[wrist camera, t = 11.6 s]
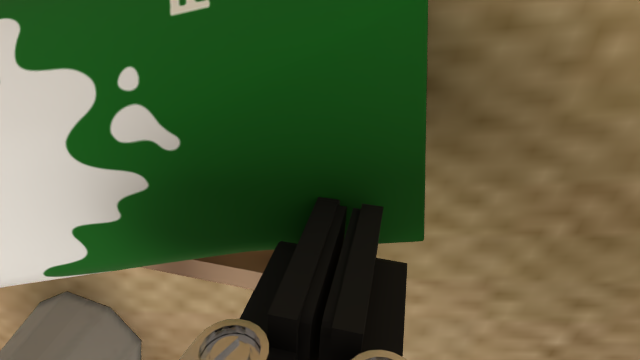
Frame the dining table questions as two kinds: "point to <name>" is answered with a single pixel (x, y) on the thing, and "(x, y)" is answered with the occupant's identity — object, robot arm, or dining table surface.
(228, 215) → the soya milk
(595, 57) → the dining table surface
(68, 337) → the coffee maker
